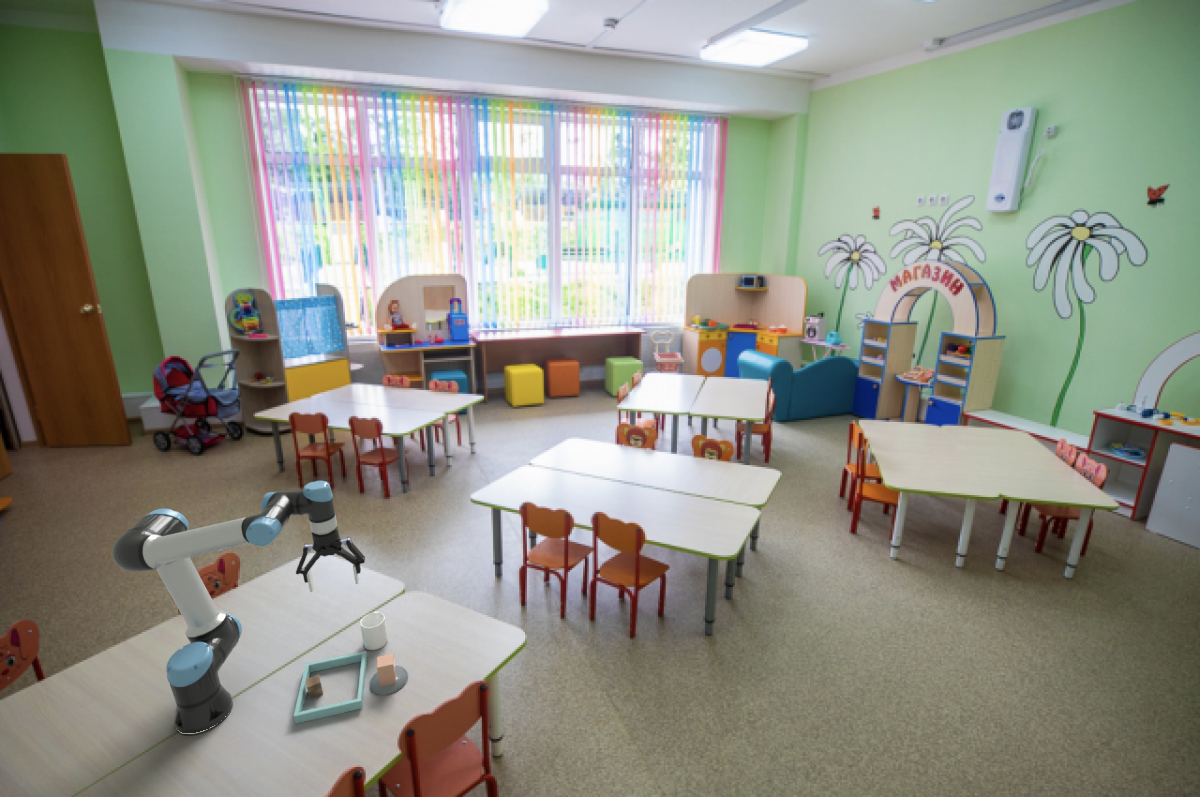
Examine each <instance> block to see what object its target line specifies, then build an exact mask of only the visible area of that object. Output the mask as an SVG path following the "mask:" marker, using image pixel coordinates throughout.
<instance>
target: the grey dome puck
mask: <svg viewBox="0 0 1200 797" xmlns="http://www.w3.org/2000/svg"><path fill="white" fill-rule="evenodd" d="M395 667H396V683H395V684H390V685H386V686H382V687H380V684H379V677H378V671H376V672H375V673H374V674H373V675H372V677H371V678H370V682H369V688H370V690H371V692H373V693H374V694H376V695H379V696H387V695H392V694H394V693H396V692H397V691H399V690H401V689H402V688H403V687H404V686H405V685H406V684H407V682H408V677H409V676H408V671H407V669H406V668H404V667H403V666H401V665H395Z"/></svg>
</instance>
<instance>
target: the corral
mask: <svg viewBox="0 0 1200 797" xmlns="http://www.w3.org/2000/svg"><path fill="white" fill-rule="evenodd" d="M360 662H361V663H360ZM355 663H360V670H359V678H358V680H359V681H358V689H357V696H356V697H357V698H355V699H350V700H345V701H342V702H338V703H337V702H336V703H332V704H328V705H325V706H321V707H316V708H312V709H308V710H307V709H306V710H303V709H304V703H305V700H304V699H306V695H307V691H308V689H307V684H306V679H308V678H310V677H311V673H312V672H313V673H314V672H318V671H322V670H327V669H333V668H337V667H342V666H345V665H350V664H355ZM367 664H368V654H367V651H366V650H364V651H359V652H354V653H349V654H345V655H340V656H336V657H335V656H334V657H331V658H326V659H320V660H316V661H311V662H306V663H305V666H304V669H303V675H302V678H301V683H300V687H299V692H298V696H297V700H296V705H295V708H294V713H293V719H294V724H295V723H296V724H300V723H299V722H301V723H304V721H305V722H308V721H309V722H310V721H313V720H317V719H321V718H326V717H331V716H334V715H339V714H342V713H347V712H350V711H355V710H356V711H357V710H359V709H361V710H362V709H363V704H364V703H363V702H364V694H365V684H366V674H367ZM306 690H307V691H306Z"/></svg>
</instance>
